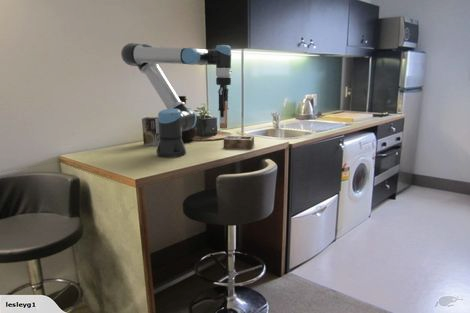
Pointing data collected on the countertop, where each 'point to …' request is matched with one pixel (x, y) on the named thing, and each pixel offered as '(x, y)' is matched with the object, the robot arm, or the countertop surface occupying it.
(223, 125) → the peg
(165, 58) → the robot arm
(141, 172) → the countertop surface
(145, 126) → the coffee box
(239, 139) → the socket block
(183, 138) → the glass bottle
